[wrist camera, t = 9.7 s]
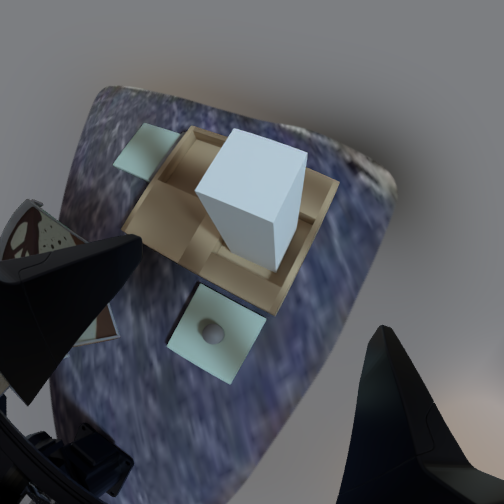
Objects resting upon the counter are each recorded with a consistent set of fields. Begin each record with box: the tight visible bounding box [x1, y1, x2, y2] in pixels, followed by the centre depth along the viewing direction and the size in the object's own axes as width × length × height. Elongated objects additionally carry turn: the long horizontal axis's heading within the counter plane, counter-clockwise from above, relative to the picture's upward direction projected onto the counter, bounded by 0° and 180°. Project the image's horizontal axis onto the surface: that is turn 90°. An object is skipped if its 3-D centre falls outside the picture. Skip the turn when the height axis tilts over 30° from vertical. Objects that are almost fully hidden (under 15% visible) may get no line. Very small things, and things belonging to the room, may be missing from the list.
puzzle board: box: [113, 123, 340, 384], centre depth 24 cm, size 18×22×2 cm
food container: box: [0, 199, 120, 358], centre depth 20 cm, size 12×6×10 cm, turn 24°
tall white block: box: [195, 128, 308, 273], centre depth 18 cm, size 4×4×11 cm
